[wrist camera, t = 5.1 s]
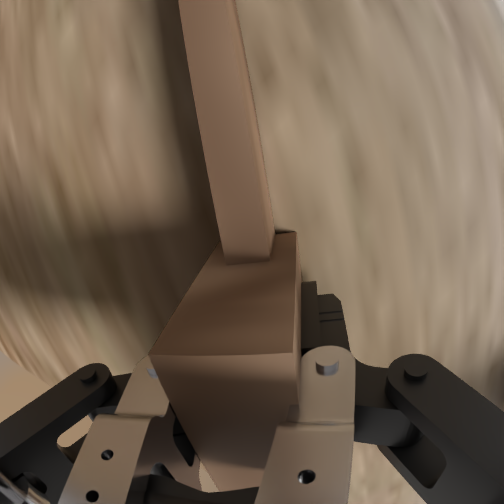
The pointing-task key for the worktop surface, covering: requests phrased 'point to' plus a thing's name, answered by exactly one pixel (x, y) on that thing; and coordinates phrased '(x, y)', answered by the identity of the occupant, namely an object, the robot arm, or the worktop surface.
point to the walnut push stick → (232, 275)
